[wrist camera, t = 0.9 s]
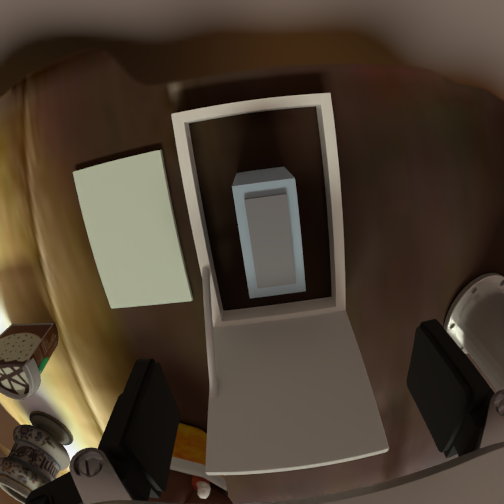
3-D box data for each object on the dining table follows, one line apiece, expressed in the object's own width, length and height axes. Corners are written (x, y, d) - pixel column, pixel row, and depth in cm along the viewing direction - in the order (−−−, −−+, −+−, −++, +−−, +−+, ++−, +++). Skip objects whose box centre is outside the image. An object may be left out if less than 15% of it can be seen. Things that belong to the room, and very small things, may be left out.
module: (284, 166, 30) (295, 178, 22) (293, 254, 33) (306, 293, 25) (236, 172, 30) (231, 187, 22) (250, 260, 33) (249, 300, 25)
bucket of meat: (239, 412, 41) (235, 539, 23) (242, 468, 47) (240, 565, 29) (108, 401, 41) (65, 508, 23) (134, 458, 47) (110, 546, 29)
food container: (22, 357, 39) (-8, 397, 30) (6, 324, 37) (-30, 362, 28) (79, 359, 39) (50, 407, 29) (62, 322, 36) (25, 368, 27)
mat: (161, 149, 29) (160, 149, 29) (193, 298, 35) (192, 300, 34) (75, 171, 30) (72, 171, 29) (112, 305, 35) (111, 308, 35)
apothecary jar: (41, 439, 48) (11, 501, 31) (16, 400, 44) (-24, 466, 27) (87, 452, 48) (60, 522, 31) (64, 413, 44) (26, 491, 27)
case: (324, 95, 27) (413, 57, 11) (340, 329, 36) (387, 453, 20) (176, 115, 28) (86, 99, 11) (222, 345, 37) (207, 476, 20)
